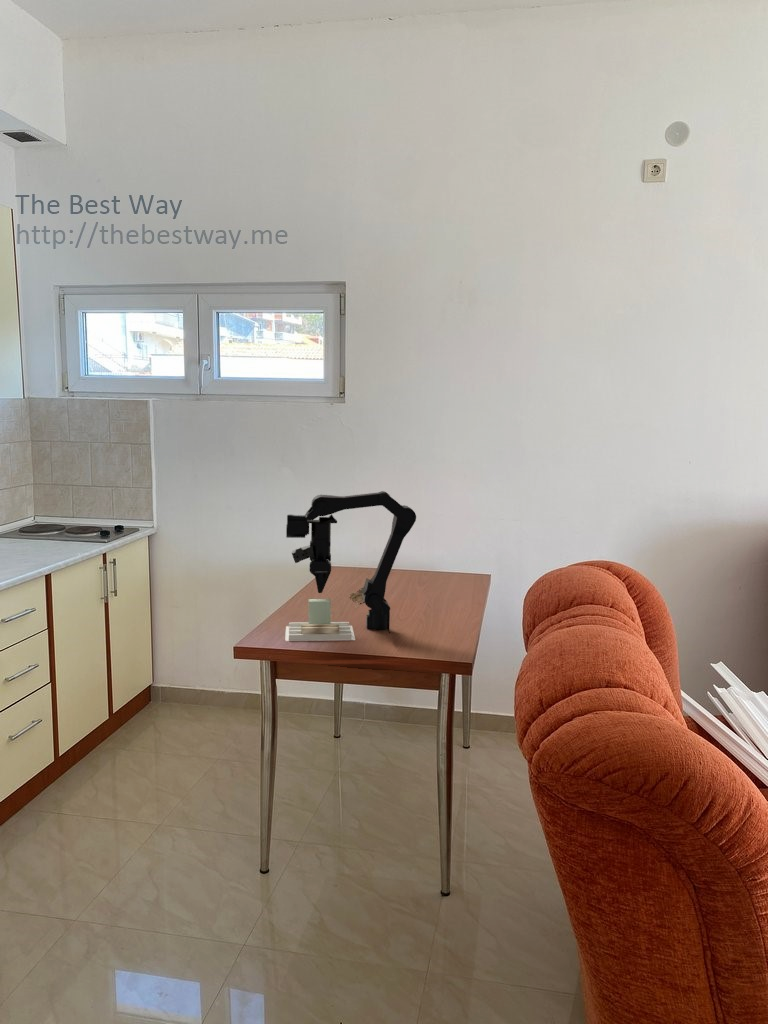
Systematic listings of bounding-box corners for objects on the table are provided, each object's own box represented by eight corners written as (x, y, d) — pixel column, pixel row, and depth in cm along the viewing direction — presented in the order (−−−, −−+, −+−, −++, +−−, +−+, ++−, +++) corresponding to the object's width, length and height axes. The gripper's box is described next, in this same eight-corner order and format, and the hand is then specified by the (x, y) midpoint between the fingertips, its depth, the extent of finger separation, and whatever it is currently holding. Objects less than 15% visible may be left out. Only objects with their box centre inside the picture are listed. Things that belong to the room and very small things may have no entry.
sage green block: (330, 628, 236) (330, 599, 235) (330, 630, 234) (330, 601, 232) (308, 628, 236) (308, 599, 235) (308, 631, 233) (308, 601, 232)
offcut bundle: (338, 635, 229) (339, 624, 228) (339, 638, 226) (339, 626, 226) (300, 636, 228) (301, 624, 227) (301, 639, 225) (301, 627, 224)
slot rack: (351, 628, 240) (351, 620, 239) (355, 643, 225) (355, 635, 225) (286, 629, 238) (286, 621, 237) (285, 644, 223) (285, 635, 223)
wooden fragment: (362, 587, 296) (362, 584, 296) (390, 589, 294) (390, 587, 293) (340, 603, 272) (340, 600, 272) (370, 606, 269) (370, 603, 269)
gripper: (294, 532, 241) (294, 582, 243) (292, 542, 222) (291, 596, 224) (331, 532, 242) (330, 582, 244) (331, 543, 223) (330, 596, 225)
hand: (320, 589), depth 234 cm, fingers open, 9 cm apart
